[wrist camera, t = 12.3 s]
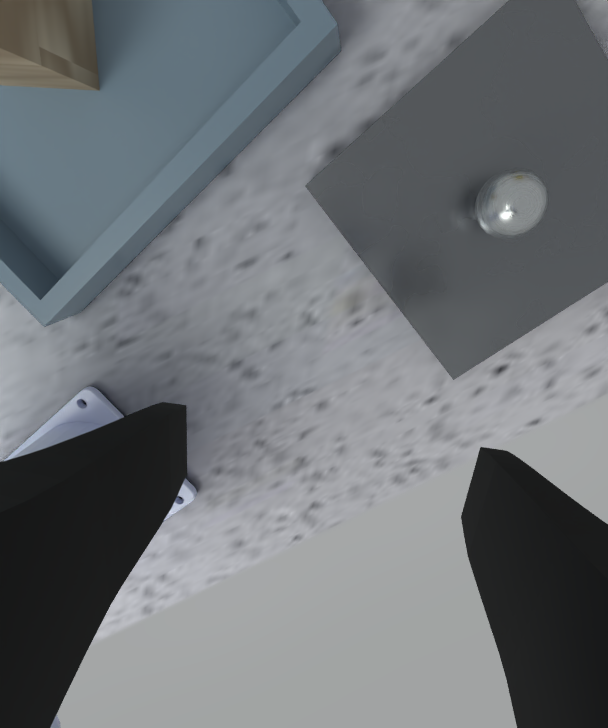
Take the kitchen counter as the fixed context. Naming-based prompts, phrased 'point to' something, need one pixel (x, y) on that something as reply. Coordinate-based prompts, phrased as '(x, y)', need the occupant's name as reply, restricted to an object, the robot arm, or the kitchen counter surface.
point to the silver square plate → (486, 184)
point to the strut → (48, 44)
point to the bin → (141, 134)
